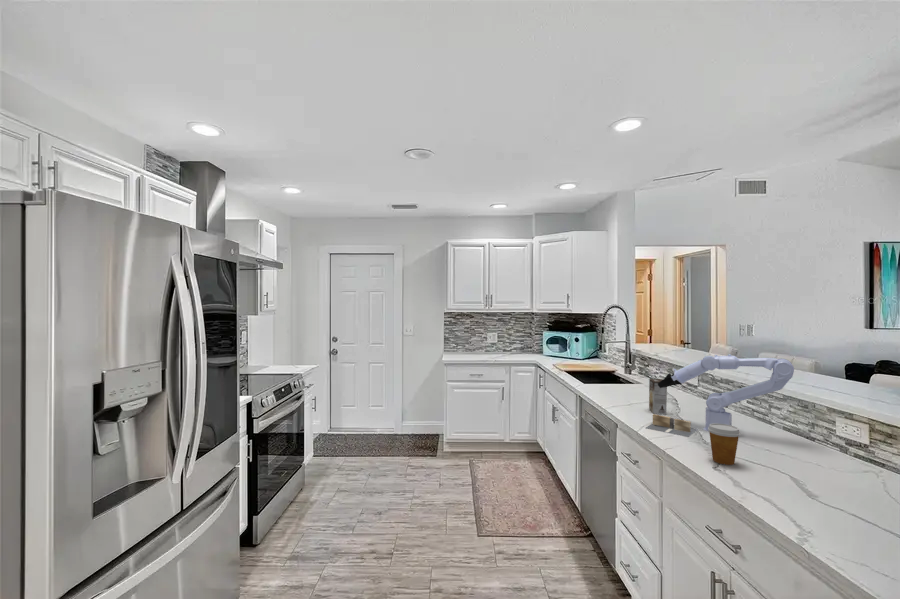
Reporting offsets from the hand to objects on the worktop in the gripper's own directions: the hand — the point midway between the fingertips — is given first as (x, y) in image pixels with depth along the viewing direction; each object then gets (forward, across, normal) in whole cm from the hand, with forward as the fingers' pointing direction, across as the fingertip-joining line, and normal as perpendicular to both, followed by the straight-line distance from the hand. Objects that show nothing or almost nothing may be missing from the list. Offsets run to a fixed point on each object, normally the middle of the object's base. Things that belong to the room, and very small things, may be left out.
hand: (660, 385), depth 196 cm
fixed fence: (0, +8, +21) cm, 22 cm away
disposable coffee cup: (-13, +37, +34) cm, 52 cm away
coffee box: (+13, -21, +9) cm, 26 cm away
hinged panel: (+6, +8, +16) cm, 19 cm away
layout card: (+4, +8, +19) cm, 21 cm away
